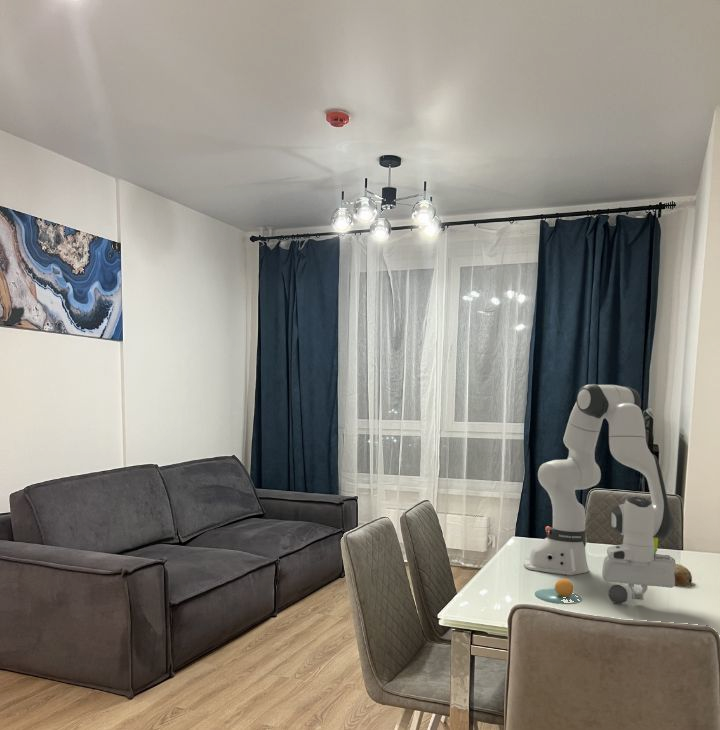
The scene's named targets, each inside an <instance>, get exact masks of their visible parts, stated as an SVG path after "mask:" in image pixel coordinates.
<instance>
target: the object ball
mask: <svg viewBox="0 0 720 730" xmlns="http://www.w3.org/2000/svg"><path fill="white" fill-rule="evenodd" d="M554 589H555V590H556V592H557V594H558V595H559V596H561V597H569V596H570V595H571V594H572V593H574V585H573V583H572V582H571V581H570V580H569V579H567V578H560V579H557V580H556V582H555V585H554Z"/></svg>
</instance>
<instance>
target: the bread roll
mask: <svg viewBox="0 0 720 730" xmlns="http://www.w3.org/2000/svg"><path fill="white" fill-rule="evenodd" d="M674 576H675V585H674V586H678V585H679V587H687V585H690V586H692V581H693V577H692V573H691V572H690V570H689V569H688V568H687V567H685V566H683V564H678V563H676V567H675V569H674Z"/></svg>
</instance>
